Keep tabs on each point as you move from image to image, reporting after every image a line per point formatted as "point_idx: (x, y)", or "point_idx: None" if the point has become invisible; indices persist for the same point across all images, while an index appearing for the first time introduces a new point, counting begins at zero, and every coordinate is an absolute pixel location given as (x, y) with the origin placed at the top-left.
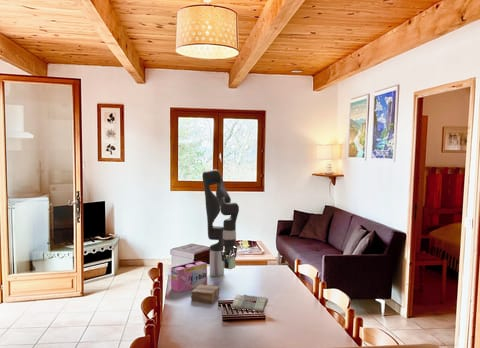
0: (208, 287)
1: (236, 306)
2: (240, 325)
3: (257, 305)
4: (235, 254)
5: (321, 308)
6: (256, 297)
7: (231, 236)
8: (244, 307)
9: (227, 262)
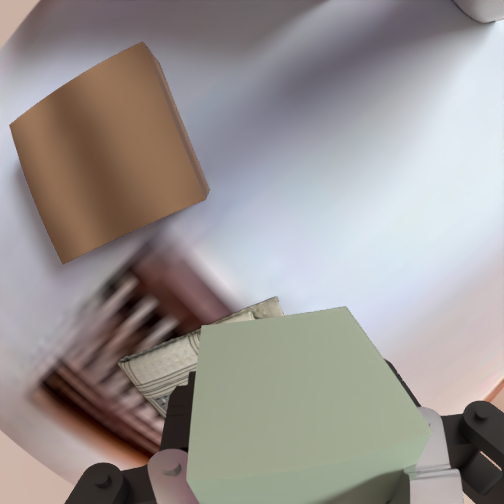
0: (129, 148)
1: (136, 386)
2: (71, 433)
3: None
4: (467, 490)
5: None
6: None
7: None
8: (159, 411)
9: None
